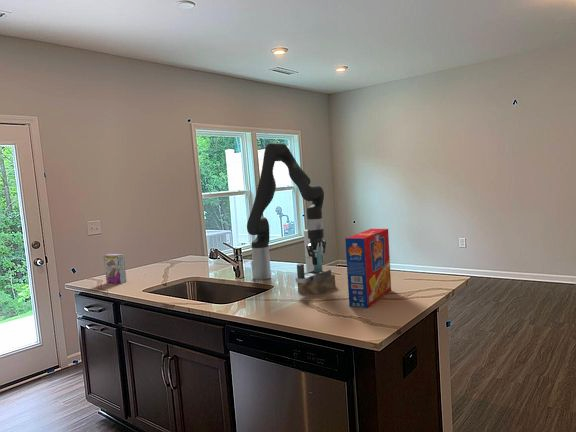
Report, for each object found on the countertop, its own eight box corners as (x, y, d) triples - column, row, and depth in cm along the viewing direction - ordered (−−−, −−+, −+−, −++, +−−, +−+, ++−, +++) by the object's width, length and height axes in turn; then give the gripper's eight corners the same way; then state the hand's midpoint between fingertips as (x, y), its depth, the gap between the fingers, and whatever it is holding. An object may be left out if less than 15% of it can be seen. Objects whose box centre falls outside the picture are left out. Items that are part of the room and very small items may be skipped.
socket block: (298, 291, 208) (296, 274, 207) (314, 284, 219) (313, 268, 218) (319, 294, 201) (318, 276, 200) (335, 286, 212) (334, 269, 211)
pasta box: (367, 308, 175) (364, 238, 173) (349, 306, 180) (345, 238, 177) (391, 290, 199) (388, 228, 197) (374, 289, 203) (371, 228, 201)
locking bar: (295, 282, 200) (293, 265, 200) (308, 277, 209) (307, 260, 208) (303, 283, 197) (302, 265, 197) (316, 278, 206) (315, 261, 205)
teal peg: (312, 272, 211) (310, 247, 210) (317, 270, 214) (315, 245, 213) (319, 272, 208) (317, 247, 207) (324, 271, 211) (322, 246, 210)
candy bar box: (106, 283, 256) (103, 255, 254) (112, 281, 260) (109, 253, 259) (120, 284, 251) (117, 255, 250) (127, 282, 256) (124, 253, 254)
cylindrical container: (319, 277, 234) (316, 230, 231) (305, 277, 235) (302, 231, 233) (320, 274, 240) (317, 228, 238) (307, 274, 242) (304, 229, 240)
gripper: (317, 226, 217) (319, 260, 218) (300, 230, 206) (302, 266, 207) (330, 226, 212) (332, 261, 214) (313, 230, 201) (315, 267, 203)
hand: (317, 263), depth 211 cm, fingers closed on teal peg, 4 cm apart
